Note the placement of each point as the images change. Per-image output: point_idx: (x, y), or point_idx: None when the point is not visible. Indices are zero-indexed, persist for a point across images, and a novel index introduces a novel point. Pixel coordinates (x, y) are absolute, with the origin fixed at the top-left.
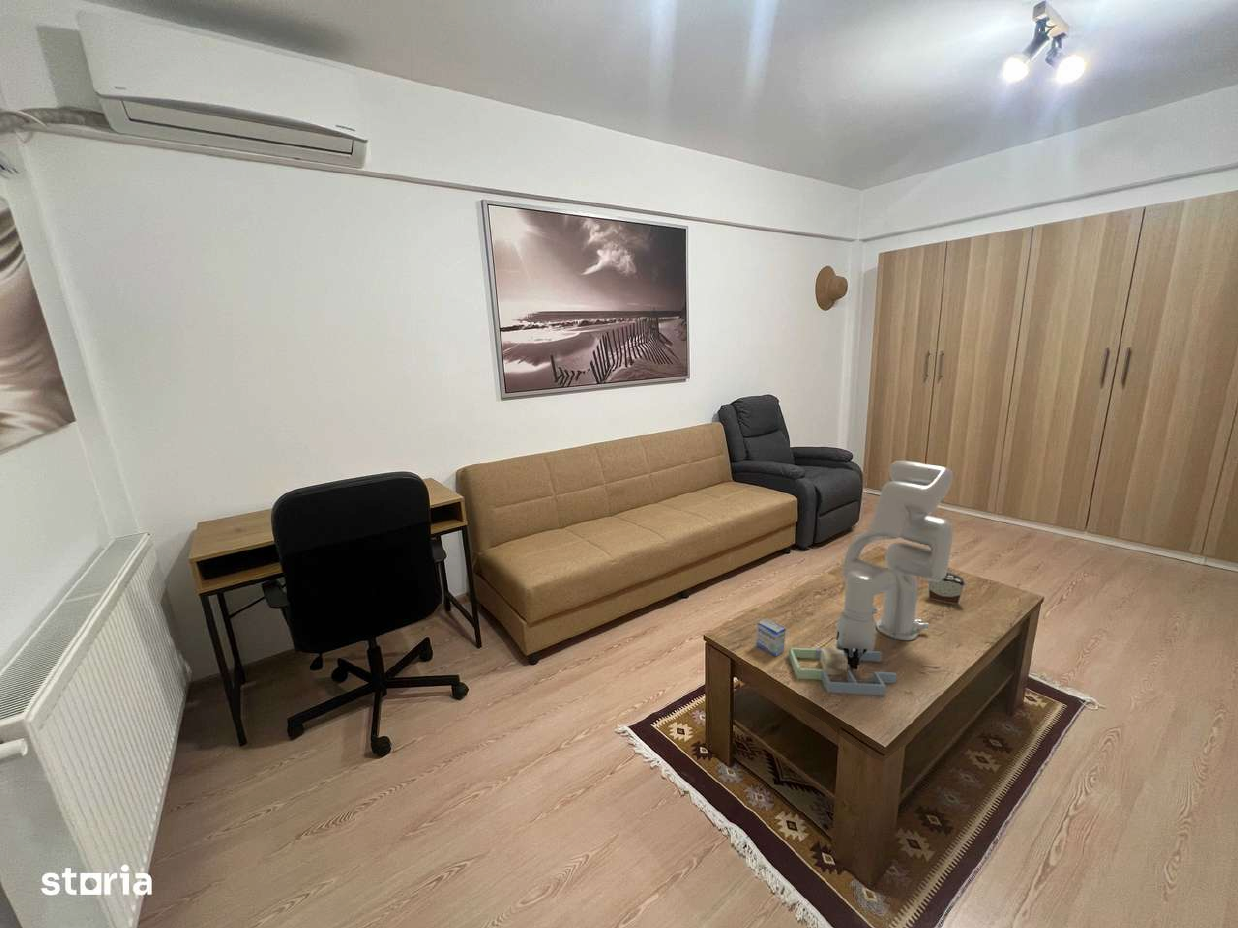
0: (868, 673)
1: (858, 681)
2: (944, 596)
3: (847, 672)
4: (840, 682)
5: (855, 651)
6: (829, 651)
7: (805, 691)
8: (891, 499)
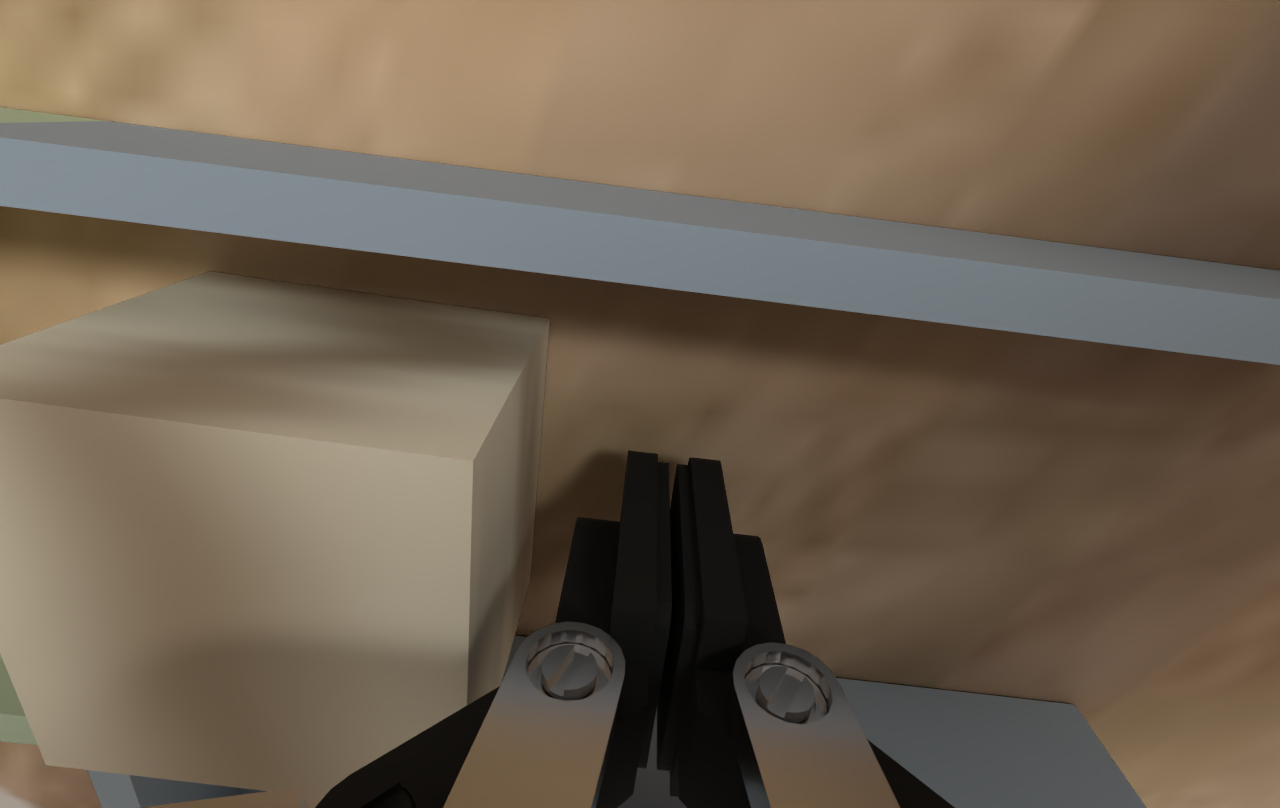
0: (852, 565)
1: None
2: None
3: None
4: None
5: (722, 760)
6: (118, 553)
7: (3, 759)
8: None
